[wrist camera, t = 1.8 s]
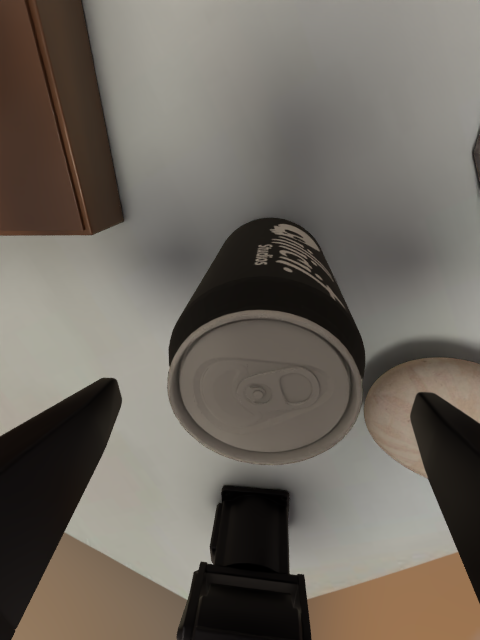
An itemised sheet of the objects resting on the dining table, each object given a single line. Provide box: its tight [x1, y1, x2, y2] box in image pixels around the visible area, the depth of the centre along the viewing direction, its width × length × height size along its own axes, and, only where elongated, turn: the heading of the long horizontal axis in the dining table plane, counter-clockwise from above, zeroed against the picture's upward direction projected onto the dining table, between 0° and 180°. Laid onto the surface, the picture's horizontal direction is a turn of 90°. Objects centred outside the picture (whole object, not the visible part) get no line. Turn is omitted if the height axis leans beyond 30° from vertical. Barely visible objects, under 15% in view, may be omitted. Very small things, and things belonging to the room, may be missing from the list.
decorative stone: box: [364, 357, 480, 478], centre depth 21 cm, size 13×9×5 cm
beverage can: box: [167, 218, 365, 465], centre depth 14 cm, size 7×7×12 cm
